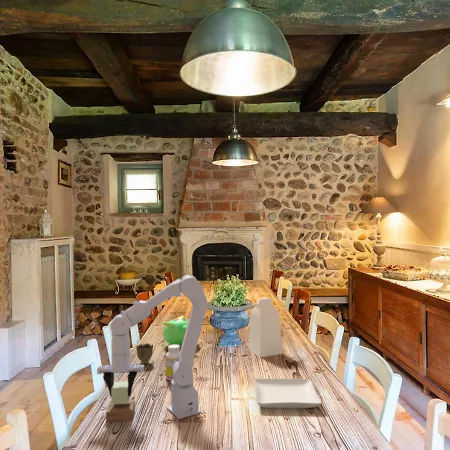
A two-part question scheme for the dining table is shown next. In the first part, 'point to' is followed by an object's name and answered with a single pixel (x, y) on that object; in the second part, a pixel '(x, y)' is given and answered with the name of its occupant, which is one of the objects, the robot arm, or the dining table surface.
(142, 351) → the cup
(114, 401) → the green cube
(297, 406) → the salad plate
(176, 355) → the supplement bottle
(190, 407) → the robot arm
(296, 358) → the dining table surface
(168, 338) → the green rounded piece
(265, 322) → the milk
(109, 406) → the walnut block
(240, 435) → the dining table surface
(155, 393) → the dining table surface
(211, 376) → the dining table surface
